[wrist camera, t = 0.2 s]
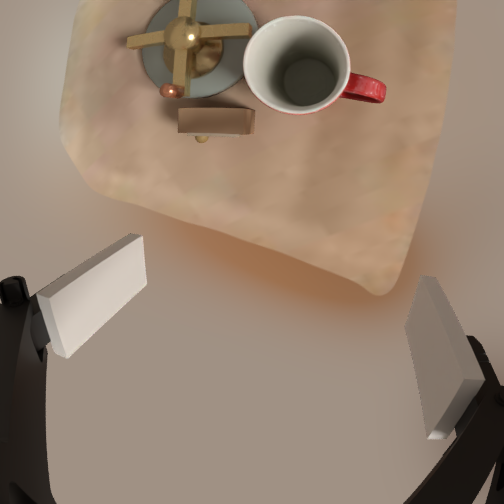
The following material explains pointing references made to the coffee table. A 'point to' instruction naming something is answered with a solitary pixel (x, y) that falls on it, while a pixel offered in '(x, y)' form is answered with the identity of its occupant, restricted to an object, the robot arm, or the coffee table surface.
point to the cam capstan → (189, 47)
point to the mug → (303, 67)
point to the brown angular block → (215, 122)
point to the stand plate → (231, 65)
